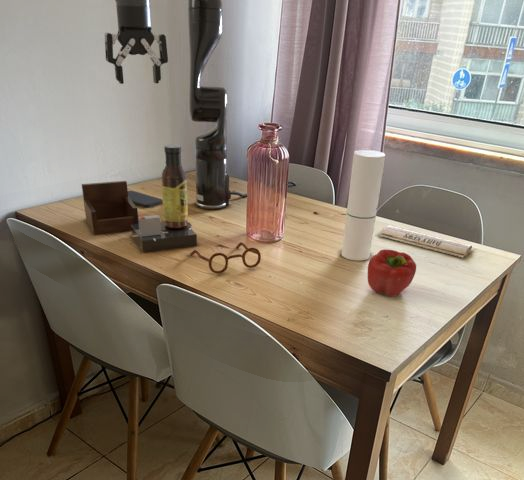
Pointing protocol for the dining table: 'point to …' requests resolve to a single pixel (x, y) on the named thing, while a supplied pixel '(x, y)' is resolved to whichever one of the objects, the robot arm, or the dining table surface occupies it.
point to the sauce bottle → (174, 189)
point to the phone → (143, 199)
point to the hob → (164, 239)
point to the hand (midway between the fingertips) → (139, 83)
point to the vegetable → (390, 272)
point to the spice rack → (109, 207)
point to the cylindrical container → (362, 204)
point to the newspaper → (426, 241)
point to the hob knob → (149, 225)
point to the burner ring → (175, 228)
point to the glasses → (230, 257)
